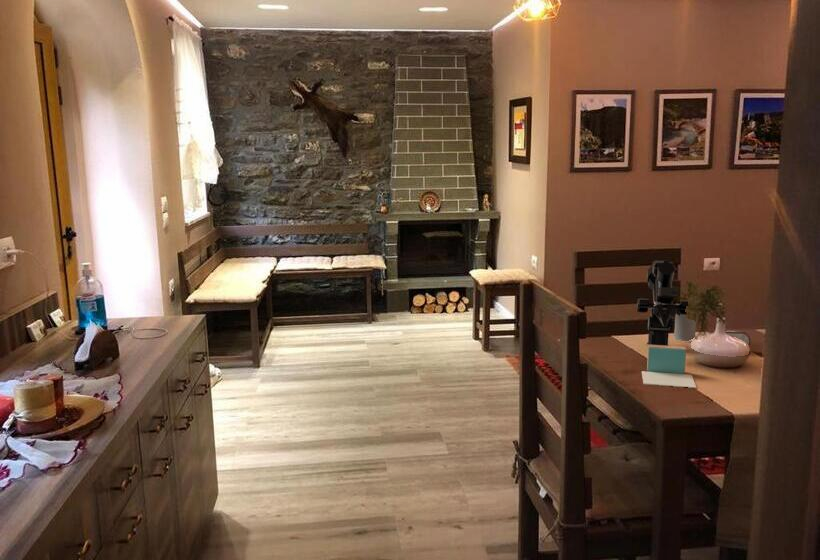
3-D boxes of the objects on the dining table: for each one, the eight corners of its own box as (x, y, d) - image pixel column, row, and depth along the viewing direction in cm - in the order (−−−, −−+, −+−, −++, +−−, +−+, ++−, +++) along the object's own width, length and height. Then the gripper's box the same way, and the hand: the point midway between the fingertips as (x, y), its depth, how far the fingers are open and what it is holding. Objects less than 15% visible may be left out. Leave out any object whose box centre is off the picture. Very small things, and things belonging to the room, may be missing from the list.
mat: (641, 372, 230) (641, 371, 230) (691, 375, 225) (691, 374, 225) (643, 384, 217) (643, 383, 217) (696, 388, 213) (696, 387, 213)
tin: (747, 350, 254) (749, 329, 252) (750, 353, 251) (752, 331, 249) (706, 350, 255) (708, 328, 254) (709, 352, 252) (710, 331, 251)
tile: (646, 369, 233) (648, 344, 232) (683, 371, 230) (685, 346, 228) (647, 372, 230) (648, 347, 228) (684, 375, 227) (686, 349, 225)
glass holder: (677, 342, 267) (679, 305, 264) (665, 332, 281) (667, 298, 278) (699, 342, 266) (701, 305, 264) (686, 332, 280) (688, 298, 278)
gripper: (638, 277, 244) (638, 313, 236) (693, 279, 239) (695, 315, 231) (636, 293, 253) (636, 329, 245) (689, 296, 248) (691, 332, 239)
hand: (664, 326), depth 240 cm, fingers closed
